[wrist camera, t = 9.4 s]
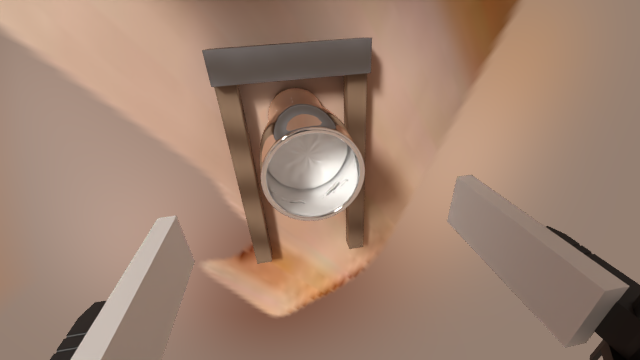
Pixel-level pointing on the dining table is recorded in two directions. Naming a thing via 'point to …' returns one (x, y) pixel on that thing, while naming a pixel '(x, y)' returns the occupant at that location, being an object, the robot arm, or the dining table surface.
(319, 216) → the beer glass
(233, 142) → the guide track
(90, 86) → the dining table surface
